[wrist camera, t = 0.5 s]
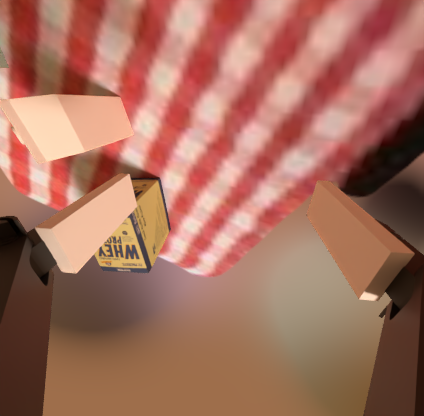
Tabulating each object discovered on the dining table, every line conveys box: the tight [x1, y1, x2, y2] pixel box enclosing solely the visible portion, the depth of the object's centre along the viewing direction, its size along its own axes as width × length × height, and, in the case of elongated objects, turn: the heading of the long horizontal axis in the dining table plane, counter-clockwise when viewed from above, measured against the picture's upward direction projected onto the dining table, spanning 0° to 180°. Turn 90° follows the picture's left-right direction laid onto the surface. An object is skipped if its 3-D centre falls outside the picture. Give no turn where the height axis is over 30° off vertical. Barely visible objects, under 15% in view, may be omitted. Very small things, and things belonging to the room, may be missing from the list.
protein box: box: [94, 178, 171, 273], centre depth 41 cm, size 10×16×16 cm
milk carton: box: [0, 94, 134, 164], centre depth 29 cm, size 7×7×19 cm
